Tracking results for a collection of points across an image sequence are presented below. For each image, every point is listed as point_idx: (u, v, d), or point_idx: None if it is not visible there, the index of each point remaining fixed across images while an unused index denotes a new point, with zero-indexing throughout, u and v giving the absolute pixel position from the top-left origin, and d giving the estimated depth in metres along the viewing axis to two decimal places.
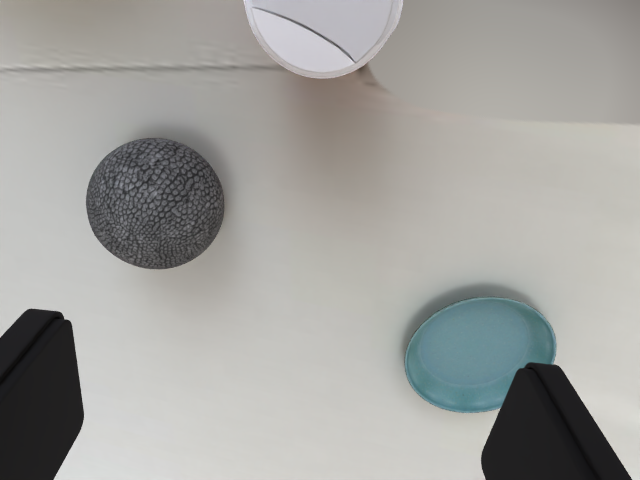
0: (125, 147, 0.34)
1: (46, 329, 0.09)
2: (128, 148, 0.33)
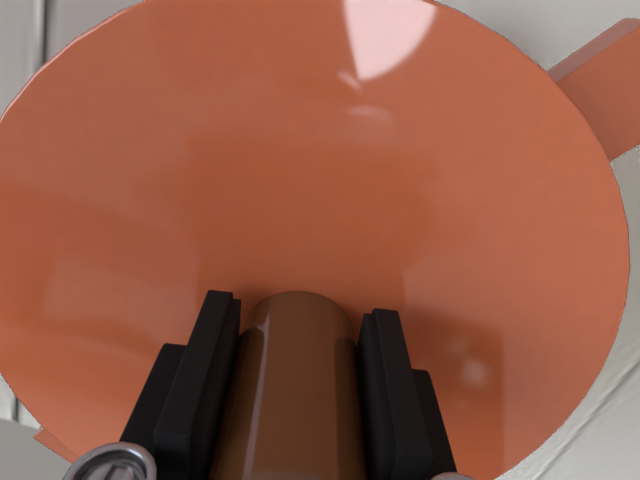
0: None
1: (230, 306, 0.10)
2: None
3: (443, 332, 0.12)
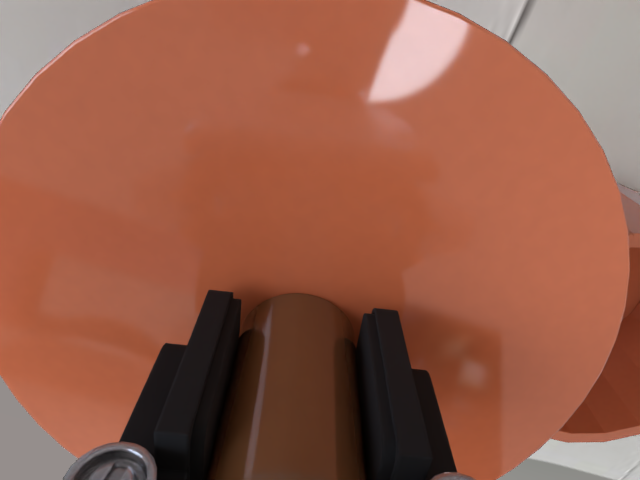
0: None
1: (230, 306, 0.10)
2: None
3: (443, 334, 0.11)
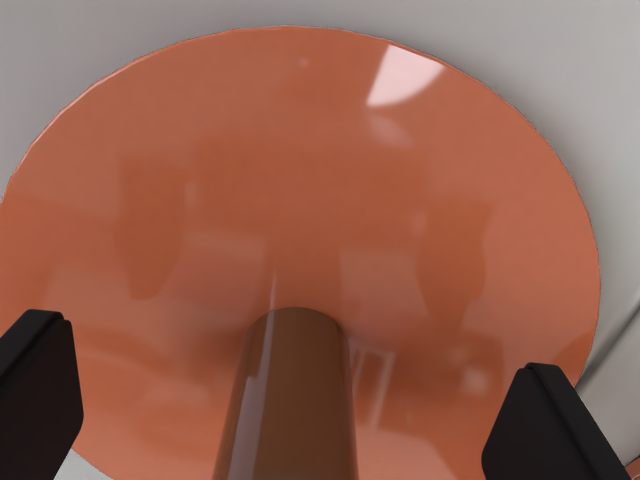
0: None
1: (46, 329, 0.09)
2: None
3: (430, 345, 0.12)
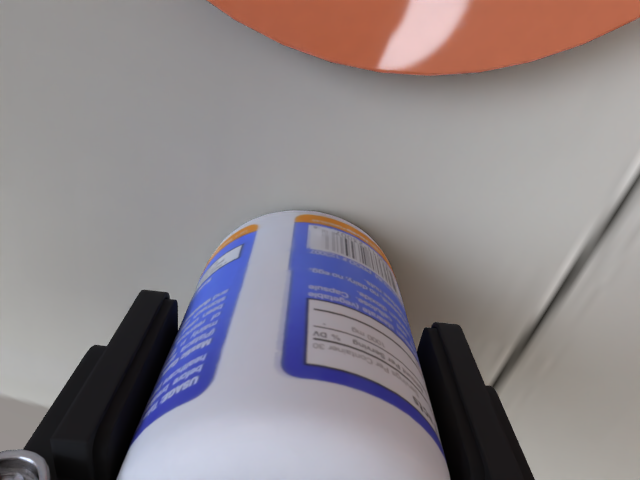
0: None
1: (162, 307, 0.10)
2: None
3: None
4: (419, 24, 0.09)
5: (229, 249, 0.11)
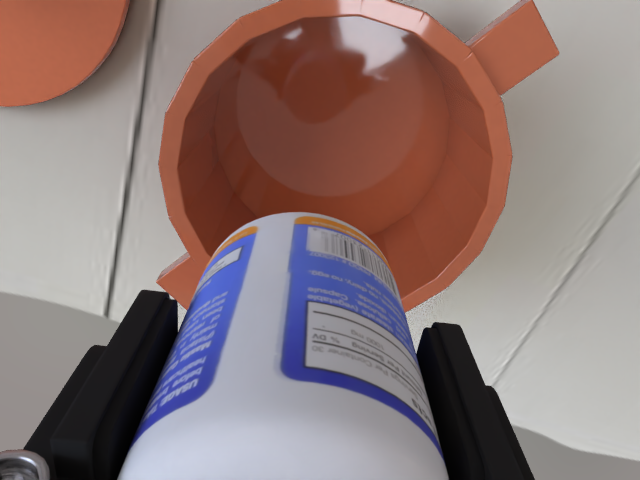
0: None
1: (162, 307, 0.10)
2: None
3: None
4: None
5: (229, 251, 0.11)
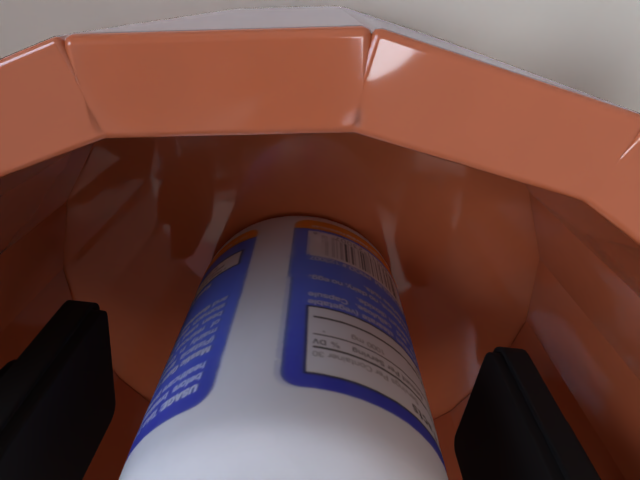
0: None
1: (86, 319, 0.09)
2: None
3: None
4: None
5: (229, 255, 0.11)
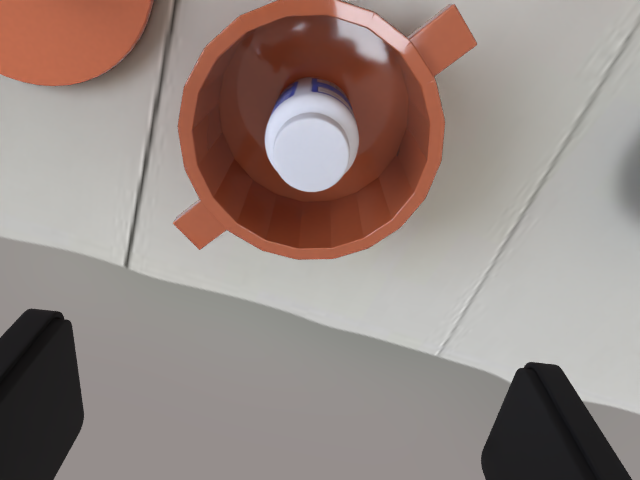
0: None
1: (46, 329, 0.09)
2: None
3: None
4: (45, 71, 0.31)
5: (288, 86, 0.31)
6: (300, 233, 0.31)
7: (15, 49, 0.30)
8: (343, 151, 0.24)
